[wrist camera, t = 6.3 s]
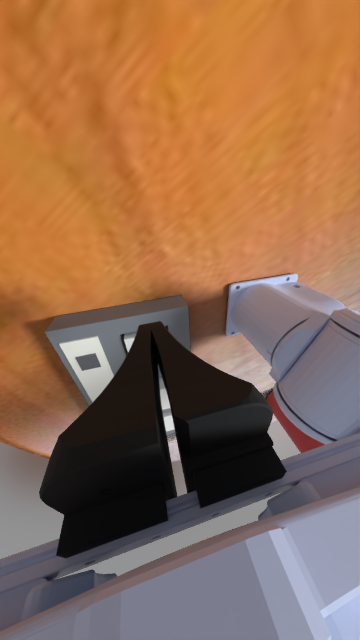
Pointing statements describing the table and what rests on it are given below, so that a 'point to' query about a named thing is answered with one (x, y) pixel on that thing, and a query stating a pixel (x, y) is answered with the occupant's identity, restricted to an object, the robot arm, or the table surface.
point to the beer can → (292, 428)
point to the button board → (111, 339)
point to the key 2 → (168, 421)
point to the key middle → (163, 395)
